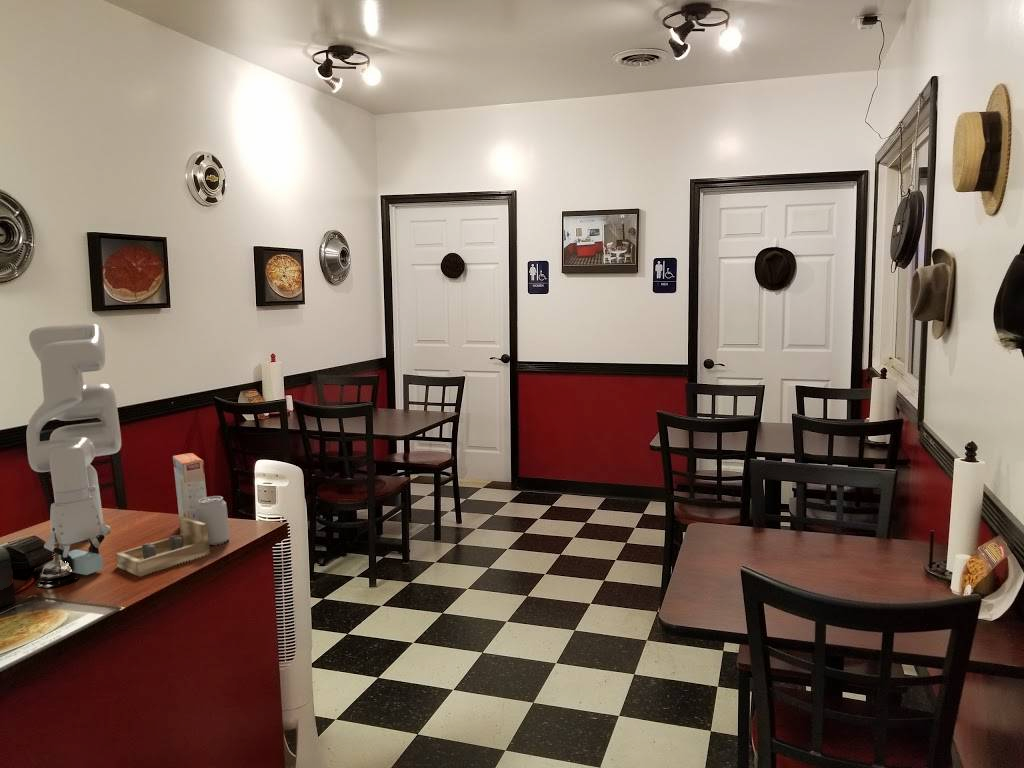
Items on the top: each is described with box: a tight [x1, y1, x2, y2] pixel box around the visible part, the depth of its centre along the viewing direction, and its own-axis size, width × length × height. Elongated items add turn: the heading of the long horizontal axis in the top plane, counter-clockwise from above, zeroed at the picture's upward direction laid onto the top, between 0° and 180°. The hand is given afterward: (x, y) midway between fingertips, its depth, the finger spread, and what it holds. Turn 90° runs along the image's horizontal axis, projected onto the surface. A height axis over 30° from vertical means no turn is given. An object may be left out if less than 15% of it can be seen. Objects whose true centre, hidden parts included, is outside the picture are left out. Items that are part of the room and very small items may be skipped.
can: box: [196, 495, 231, 546], centre depth 211 cm, size 8×8×12 cm
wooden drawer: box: [115, 517, 211, 578], centre depth 199 cm, size 12×18×8 cm, turn 140°
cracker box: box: [172, 452, 208, 521], centre depth 223 cm, size 14×6×21 cm, turn 33°
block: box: [57, 549, 104, 576], centre depth 193 cm, size 10×4×4 cm, turn 63°
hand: (81, 566), depth 193 cm, fingers closed on block, 5 cm apart
